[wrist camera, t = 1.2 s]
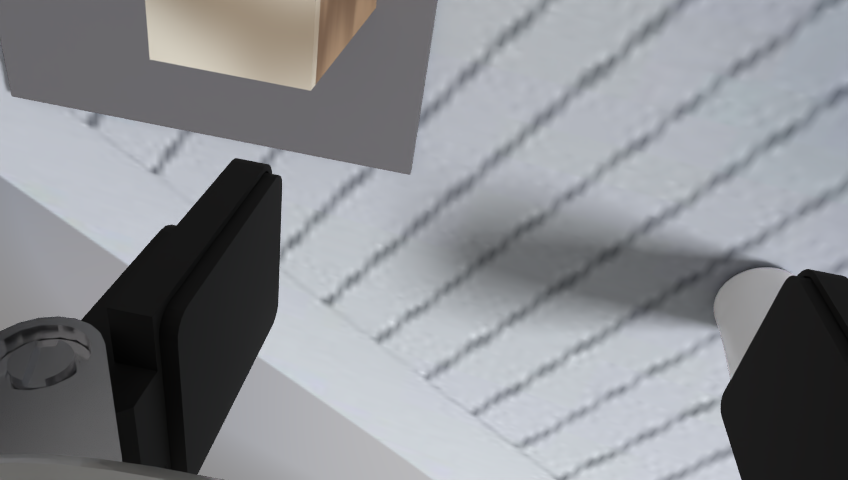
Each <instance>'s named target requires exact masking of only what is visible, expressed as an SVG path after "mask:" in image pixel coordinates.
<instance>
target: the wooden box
mask: <svg viewBox="0 0 848 480" xmlns="http://www.w3.org/2000/svg"><path fill="white" fill-rule="evenodd" d="M376 2H377V0H145V6H146V19H147V31H148V44H149V57H150V60H155V61H160V62H165V63H171V64H176V65H181V66H186V67H191V68H196V69H202V70H207V71H212V72H217V73H222V74H227V75H232V76H238V77H243V78H248V79H253V80H258V81H263V82H269V83H274V84H279V85H284V86H289V87H294V88H299V89H305V90H310V91H311V90H312V89H313V87H314V86H315V85H316V84H317V82H318V81H319V80H320V78H321V77H322V76H323V75H324V73H325V72H326V71H327V70H328V68H329V67H330V66H331V64H332V63H333V62H334V61H335V59H336V58H337V57H338V56H339V54H340V53H341V52H342V50H343V49H344V48H345V47H346V45H347V44H348V43H349V42H350V40H351V39H352V38H353V36H354V35H355V34H356V33H357V31H358V30H359V29H360V28H361V26H362V25H363V24H364V22H365V21H366V20H367V19H368V17H369V16H370V15H371V13H372V12H373V11H374V10H375V8H376Z"/></svg>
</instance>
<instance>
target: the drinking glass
mask: <svg viewBox="0 0 848 480" xmlns="http://www.w3.org/2000/svg"><path fill="white" fill-rule="evenodd" d="M793 275H794V274H792V273H790V272H788V271H786V270H783V269H779V268H773V267H760V268H754V269H749V270H746V271H744V272H741V273H739V274H737V275H735V276H733V277H732V278H731V279H729V280H728V281H727V282H726V283H725V284H724V285H723V286H722V287H721V288H720V290H719V291H718V293H717V295H716V298H715V301H714V316H715V320H716V323H717V326H718V329H719V331H720V335H721V339H722V343H723V348H724V352H725V357H726V361H727V366H728V371H729V375H730V380H731V378H732V377H733V375H734V373H735V371H736V369H737V367H738V366H739V364H740V362H741V360H742V358H743V356H744V355H745V353H746V351H747V349H748V347H749V345H750V344H751V342H752V340H753V338H754V336H755V334H756V333H757V331H758V329H759V327H760V325H761V323H762V322H763V320H764V318H765V316H766V314H767V313H768V311H769V309H770V307H771V305H772V303H773V302H774V300H775V298H776V296H777V294H778V292H779V291H780V289H781V287H782V285H783V283H784V282H785V280H786V279H787V278H788V277H789V276H793ZM794 276H795V275H794Z"/></svg>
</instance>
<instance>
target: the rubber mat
mask: <svg viewBox="0 0 848 480" xmlns="http://www.w3.org/2000/svg"><path fill="white" fill-rule="evenodd" d="M437 1H438V0H377V2H376V8H375V10H374V11H373V12H372V13H371V15H370V16H369V17H368V19H367V20H366V21H365V22H364V24H363V25H362V26H361V28H360V29H359V30H358V31H357V33H356V34H355V35H354V36H353V38H352V39H351V40H350V42H349V43H348V44H347V45H346V47H345V48H344V49H343V50H342V52H341V53H340V54H339V56H338V57H337V58H336V59H335V61H334V62H333V63H332V64H331V66H330V67H329V68H328V70H327V71H326V72H325V73H324V75H323V76H322V77H321V78H320V80H319V81H318V82H317V84H316V85H315V86H314V87H313V89H312V90H311V91H310V90H305V89H299V88H294V87H289V86H284V85H279V84H274V83H269V82H263V81H258V80H253V79H248V78H243V77H238V76H232V75H227V74H222V73H217V72H212V71H207V70H202V69H196V68H191V67H186V66H181V65H176V64H171V63H165V62H160V61H155V60H150V57H149V44H148V31H147V19H146V6H145V0H0V40H1V45H2V50H3V55H4V60H5V65H6V70H7V75H8V80H9V85H10V90H11V95H12V96H13V97H18V98H23V99H29V100H34V101H39V102H44V103H49V104H54V105H59V106H64V107H69V108H74V109H79V110H84V111H89V112H94V113H100V114H105V115H110V116H115V117H120V118H125V119H130V120H135V121H140V122H145V123H150V124H155V125H160V126H165V127H170V128H176V129H181V130H186V131H191V132H196V133H201V134H206V135H211V136H216V137H221V138H226V139H231V140H236V141H241V142H247V143H252V144H257V145H262V146H267V147H272V148H277V149H282V150H287V151H292V152H297V153H302V154H307V155H312V156H317V157H323V158H328V159H333V160H338V161H343V162H348V163H353V164H358V165H363V166H368V167H373V168H378V169H383V170H388V171H394V172H399V173H404V174H409V175H410V173H411V169H412V163H413V156H414V150H415V143H416V137H417V130H418V124H419V117H420V111H421V104H422V98H423V91H424V85H425V79H426V72H427V66H428V59H429V53H430V46H431V40H432V33H433V27H434V20H435V14H436V7H437Z"/></svg>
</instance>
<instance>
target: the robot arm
mask: <svg viewBox="0 0 848 480" xmlns="http://www.w3.org/2000/svg"><path fill="white" fill-rule="evenodd" d="M281 202H282V179H281V176H279V175H274V174H272V170H271V167H270V165H268V164H263V163H258V162H253V161H248V160H243V159H237V158H235V159H234V160H232V161H231V162H230V164H229V165H228V166H227V167H226V168H225V169H224V171H223V172H222V173H221V174H220V175H219V177H218V178H217V179H216V180H215V181H214V182H213V184H212V185H211V186H210V187H209V188H208V189H207V191H206V192H205V193H204V194H203V195H202V196H201V198H200V199H199V200H198V201H197V202H196V203H195V205H194V206H193V207H192V208H191V209H190V211H189V212H188V213H187V214H186V215H185V216H184V218H183V219H182V220H181V221H180V222H179V223H178V225H177V226H175V225H167V226H165V227H164V228H163V229H161V230H160V231H159V233H158V234H157V235H156V236H155V237H154V238H153V239H152V240H151V242H150V243H149V244H148V245H147V246H146V247H145V248H144V250H143V251H142V252H141V253H140V254H139V255H138V256H137V257H136V259H135V260H134V261H133V262H132V263H131V264H130V265H129V267H128V268H127V269H126V270H125V271H124V272H123V273H122V275H121V276H120V277H119V278H118V279H117V280H116V281H115V282H114V284H113V285H112V286H111V287H110V288H109V289H108V290H107V292H106V293H105V294H104V295H103V296H102V297H101V298H100V300H99V301H98V302H97V303H96V304H95V305H94V306H93V307H92V309H91V310H90V311H89V312H88V313H87V314H86V315H85V316H84V318H83V319H82V320H78V319H74V318H66V317H45V318H36V319H33V320H28V321H25V322H21V323H17V324H16V325H13V326H11V327H9V328H6V329H4V330H2V331H0V480H223V479H217V478H212V477H207V476H201V475H197V474H198V472H199V470H200V468H201V466H202V464H203V462H204V460H205V458H206V456H207V454H208V452H209V450H210V448H211V446H212V444H213V443H214V440H215V438H216V436H217V435H218V433H219V431H220V429H221V427H222V424H223V422H224V421H225V419H226V417H227V415H228V413H229V411H230V409H231V407H232V405H233V403H234V401H235V398H236V397H237V395H238V393H239V391H240V389H241V387H242V385H243V383H244V381H245V379H246V377H247V375H248V373H249V371H250V369H251V367H252V365H253V363H254V361H255V359H256V357H257V355H258V353H259V351H260V349H261V347H262V345H263V343H264V341H265V339H266V337H267V335H268V333H269V331H270V329H271V327H272V325H273V323H274V320H275V317H276V313H277V308H278V291H279V261H280V232H281ZM721 415H722V419H723V422H724V425H725V428H726V431H727V435H728V438H729V441H730V444H731V447H732V451H733V454H734V457H735V460H736V463H737V467H738V470H739V473H740V476H741V479H742V480H848V279H847V278H846V277H844V276H841V275H835V274H830V273H825V272H820V271H815V270H810V269H806V270H803V271H802V272H801V273H799V274H798V276H794V275H793V276H789V277H788V278H787V279H786V280H785V282H784V283H783V285H782V287H781V289H780V291H779V292H778V294H777V296H776V298H775V300H774V302H773V303H772V305H771V307H770V309H769V311H768V313H767V314H766V316H765V318H764V320H763V322H762V323H761V325H760V327H759V329H758V331H757V333H756V334H755V336H754V338H753V340H752V342H751V344H750V345H749V347H748V349H747V351H746V353H745V355H744V356H743V358H742V360H741V362H740V364H739V366H738V367H737V369H736V371H735V373H734V375H733V377H732V378H731V380H730V382H729V384H728V386H727V388H726V389H725V391H724V393H723V396H722V400H721Z"/></svg>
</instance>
